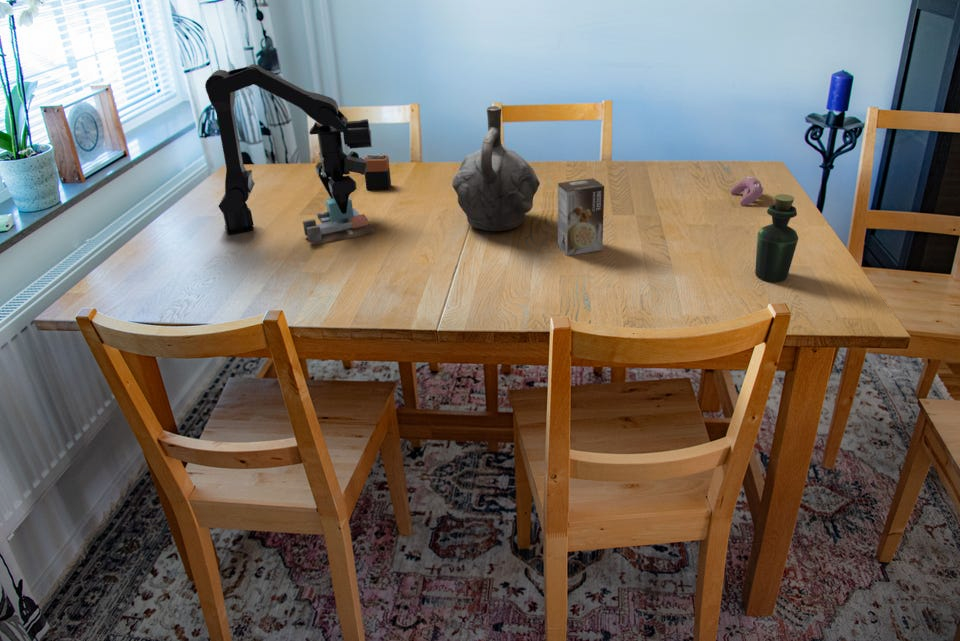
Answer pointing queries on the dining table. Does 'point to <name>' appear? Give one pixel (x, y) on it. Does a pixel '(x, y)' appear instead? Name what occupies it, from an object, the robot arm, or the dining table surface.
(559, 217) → the coffee box
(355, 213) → the mat
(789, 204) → the potion bottle
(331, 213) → the plug
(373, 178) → the battery
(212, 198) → the dining table surface
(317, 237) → the base
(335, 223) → the cutter lever
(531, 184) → the vessel
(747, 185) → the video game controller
